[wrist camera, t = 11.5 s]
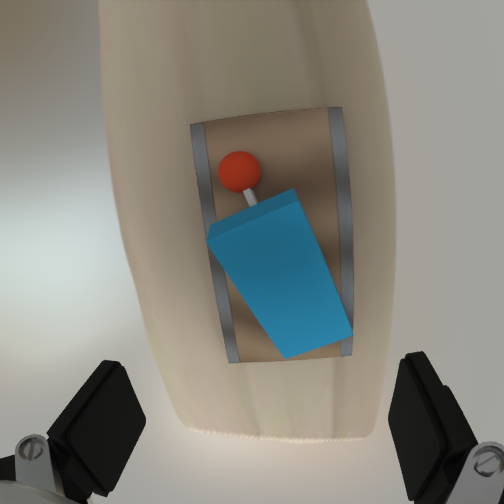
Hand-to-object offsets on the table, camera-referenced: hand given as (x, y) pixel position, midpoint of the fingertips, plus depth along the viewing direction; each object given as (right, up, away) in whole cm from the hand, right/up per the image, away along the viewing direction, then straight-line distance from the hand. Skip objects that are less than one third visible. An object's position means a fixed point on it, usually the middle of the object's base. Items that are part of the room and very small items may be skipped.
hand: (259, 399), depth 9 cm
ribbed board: (+2, +5, +19) cm, 20 cm away
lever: (+2, +5, +19) cm, 19 cm away
